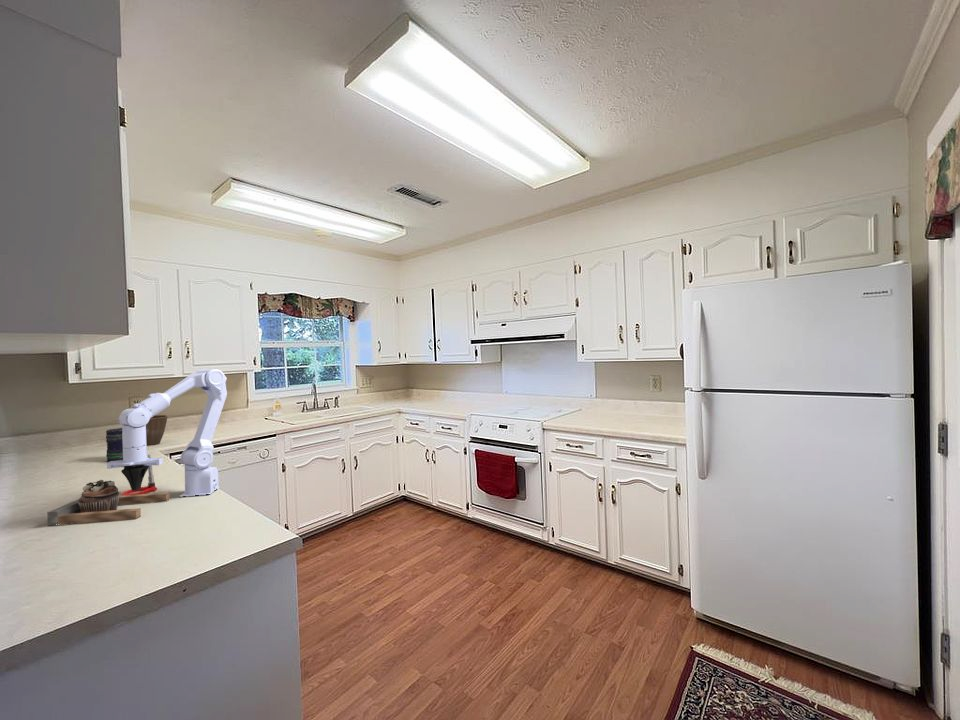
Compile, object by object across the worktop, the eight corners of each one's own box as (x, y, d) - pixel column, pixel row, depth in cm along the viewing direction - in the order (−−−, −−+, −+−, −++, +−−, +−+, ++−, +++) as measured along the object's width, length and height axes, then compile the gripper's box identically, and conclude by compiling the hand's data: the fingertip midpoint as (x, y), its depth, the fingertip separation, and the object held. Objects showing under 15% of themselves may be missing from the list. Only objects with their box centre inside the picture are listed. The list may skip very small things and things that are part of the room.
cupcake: (128, 506, 130) (128, 476, 130) (100, 518, 120) (99, 485, 120) (99, 507, 130) (98, 476, 130) (68, 519, 120) (67, 486, 120)
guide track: (169, 499, 136) (169, 487, 136) (136, 518, 120) (136, 505, 120) (93, 505, 132) (93, 493, 132) (47, 526, 116) (47, 512, 116)
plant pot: (174, 441, 240) (173, 415, 240) (150, 447, 225) (150, 418, 225) (152, 441, 242) (152, 415, 242) (127, 447, 228) (127, 418, 228)
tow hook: (125, 499, 139) (158, 491, 146) (121, 462, 138) (155, 456, 146) (118, 495, 144) (151, 487, 151) (115, 459, 143) (148, 453, 151)
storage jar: (111, 458, 199) (111, 428, 199) (136, 456, 203) (136, 427, 203) (102, 463, 190) (101, 431, 190) (128, 461, 194) (128, 430, 194)
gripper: (98, 450, 122) (100, 495, 122) (152, 447, 124) (154, 491, 124) (115, 445, 129) (116, 488, 129) (166, 442, 131) (167, 484, 131)
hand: (136, 489), depth 127 cm, fingers closed
